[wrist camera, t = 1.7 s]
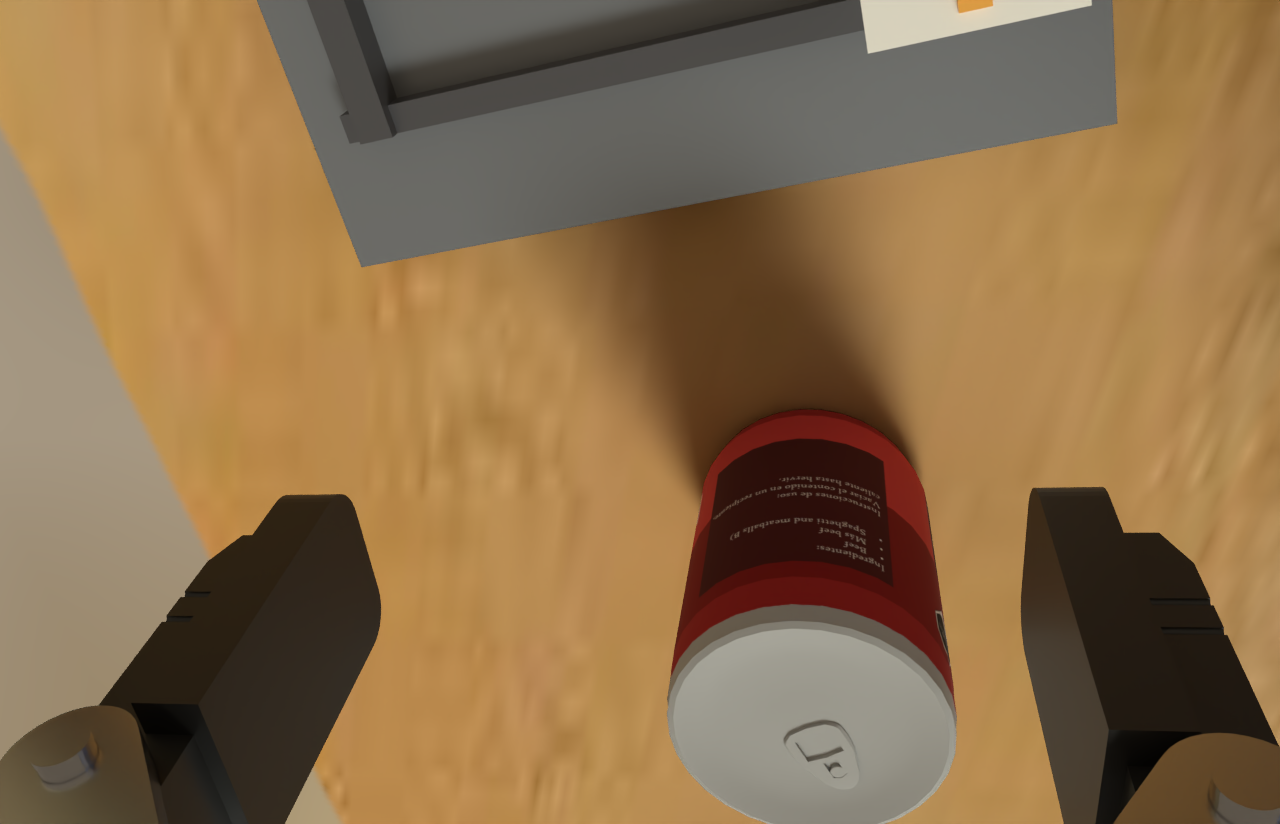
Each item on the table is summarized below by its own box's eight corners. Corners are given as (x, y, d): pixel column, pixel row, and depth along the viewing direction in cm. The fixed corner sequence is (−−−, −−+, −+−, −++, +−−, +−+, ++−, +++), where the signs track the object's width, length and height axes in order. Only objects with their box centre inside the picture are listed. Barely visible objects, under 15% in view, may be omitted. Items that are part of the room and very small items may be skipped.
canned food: (812, 620, 41) (809, 873, 32) (656, 490, 39) (603, 718, 30) (976, 507, 38) (1026, 754, 28) (813, 358, 36) (809, 570, 26)
